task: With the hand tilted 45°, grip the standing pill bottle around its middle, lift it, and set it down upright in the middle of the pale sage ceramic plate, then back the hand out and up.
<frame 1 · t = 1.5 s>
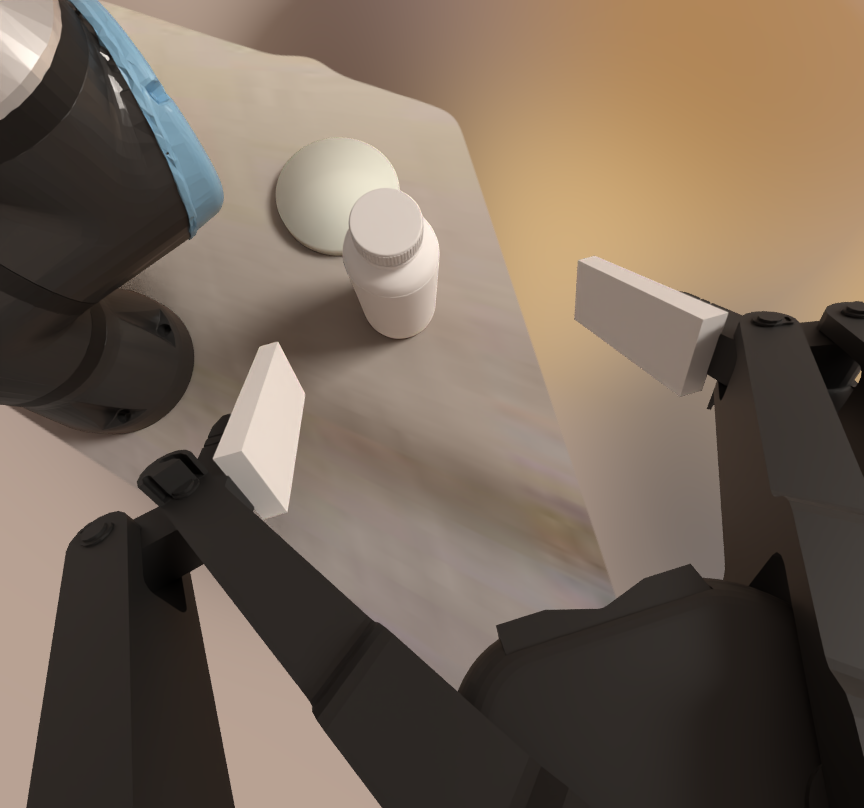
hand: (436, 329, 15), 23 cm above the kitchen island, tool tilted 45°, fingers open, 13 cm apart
pill bottle: (400, 307, 40), on the kitchen island
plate: (340, 199, 41), on the kitchen island
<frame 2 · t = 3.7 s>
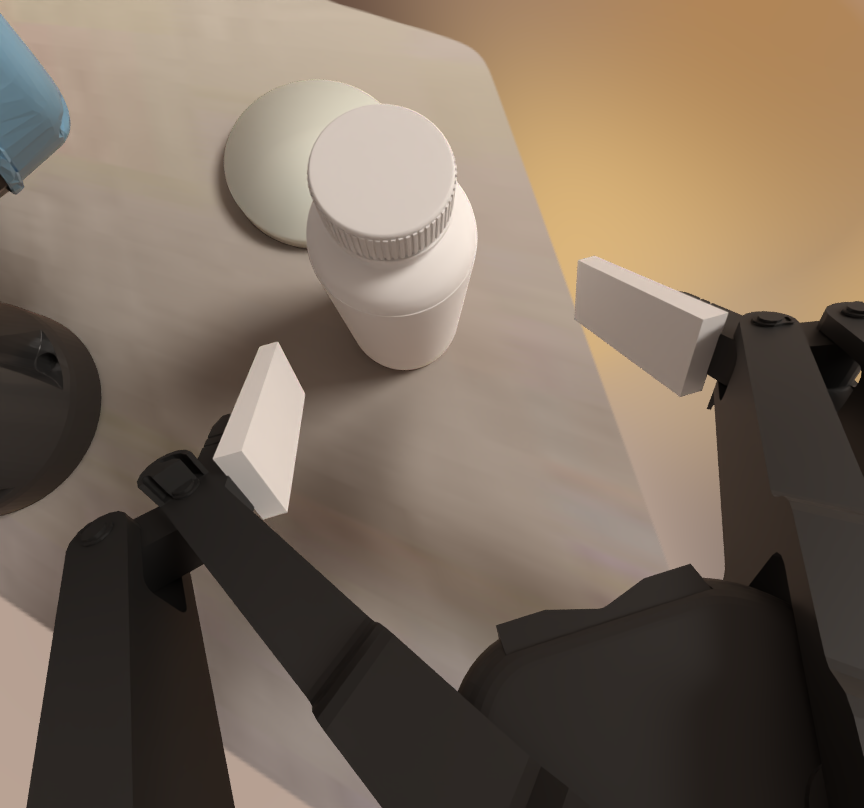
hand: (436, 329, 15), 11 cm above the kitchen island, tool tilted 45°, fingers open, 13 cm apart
pill bottle: (406, 323, 27), on the kitchen island
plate: (318, 168, 29), on the kitchen island
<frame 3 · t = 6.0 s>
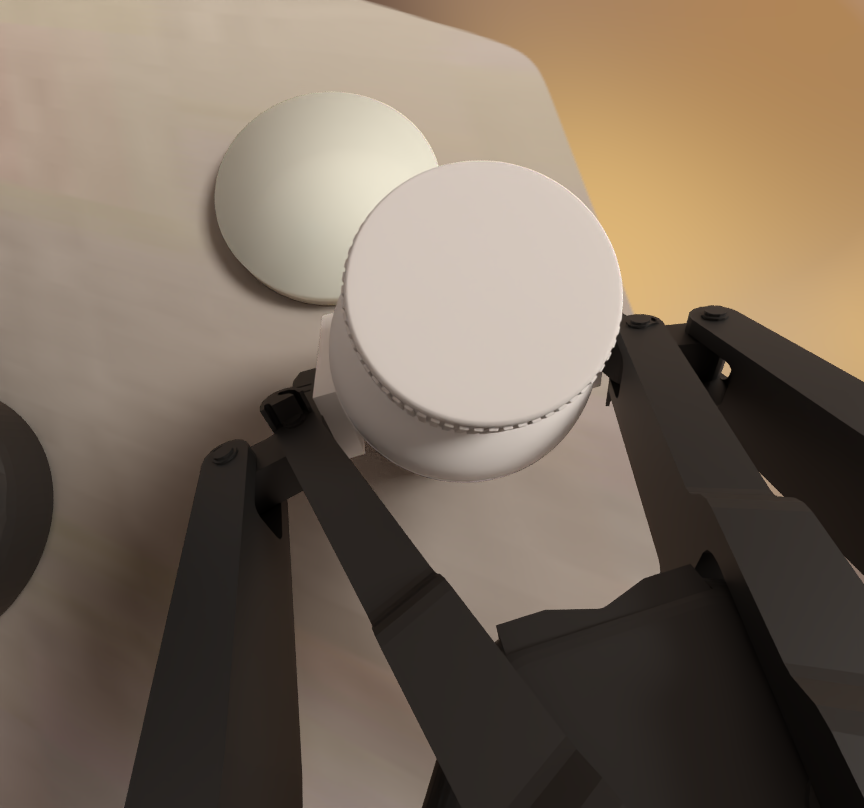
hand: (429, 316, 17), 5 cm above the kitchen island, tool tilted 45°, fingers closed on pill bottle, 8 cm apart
pill bottle: (444, 401, 21), on the kitchen island, touching gripper
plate: (333, 203, 23), on the kitchen island
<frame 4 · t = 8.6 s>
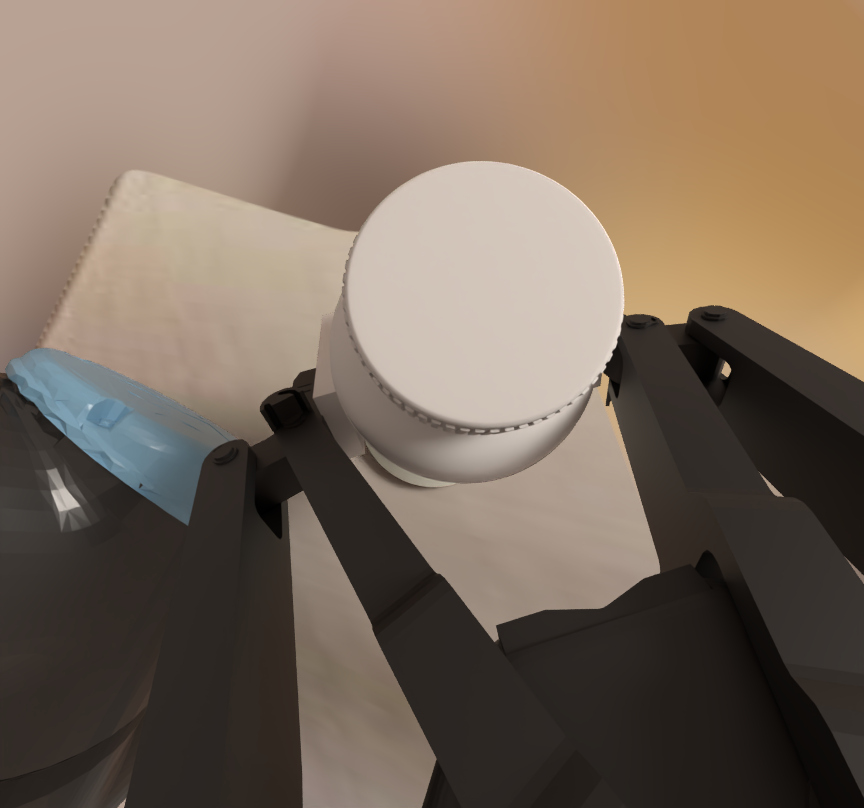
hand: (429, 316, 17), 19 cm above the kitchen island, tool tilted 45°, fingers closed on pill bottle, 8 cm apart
pill bottle: (445, 402, 21), point 13 cm above the kitchen island, touching gripper
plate: (433, 413, 35), on the kitchen island
when the fingers open (8 cm above the kitchen island, at t = 11.2 s): pill bottle drops 1 cm, resting on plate.
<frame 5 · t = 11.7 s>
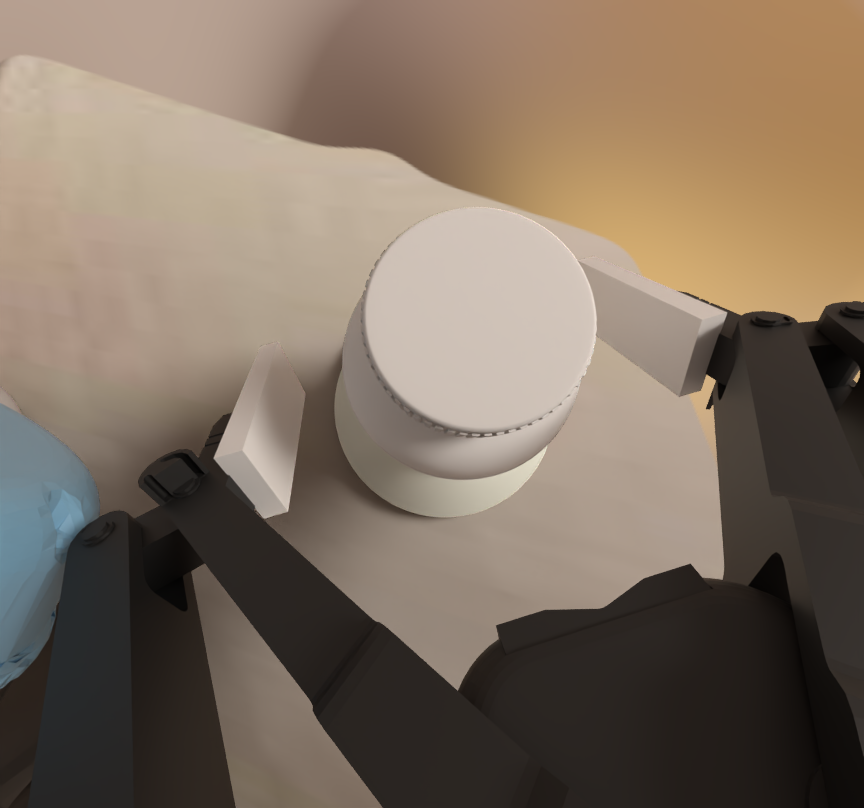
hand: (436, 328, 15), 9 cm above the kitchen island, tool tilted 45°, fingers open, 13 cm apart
pill bottle: (444, 404, 23), point 1 cm above the kitchen island, touching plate
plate: (443, 406, 24), on the kitchen island
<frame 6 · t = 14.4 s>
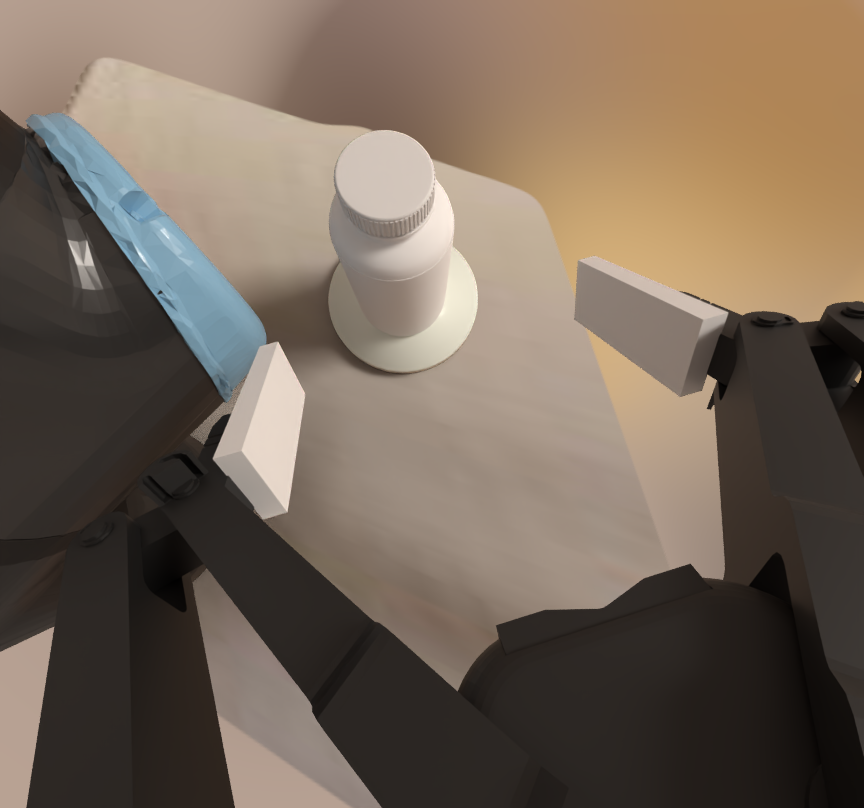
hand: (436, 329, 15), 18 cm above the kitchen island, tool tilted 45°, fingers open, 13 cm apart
pill bottle: (403, 298, 33), point 1 cm above the kitchen island, touching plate
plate: (404, 302, 34), on the kitchen island
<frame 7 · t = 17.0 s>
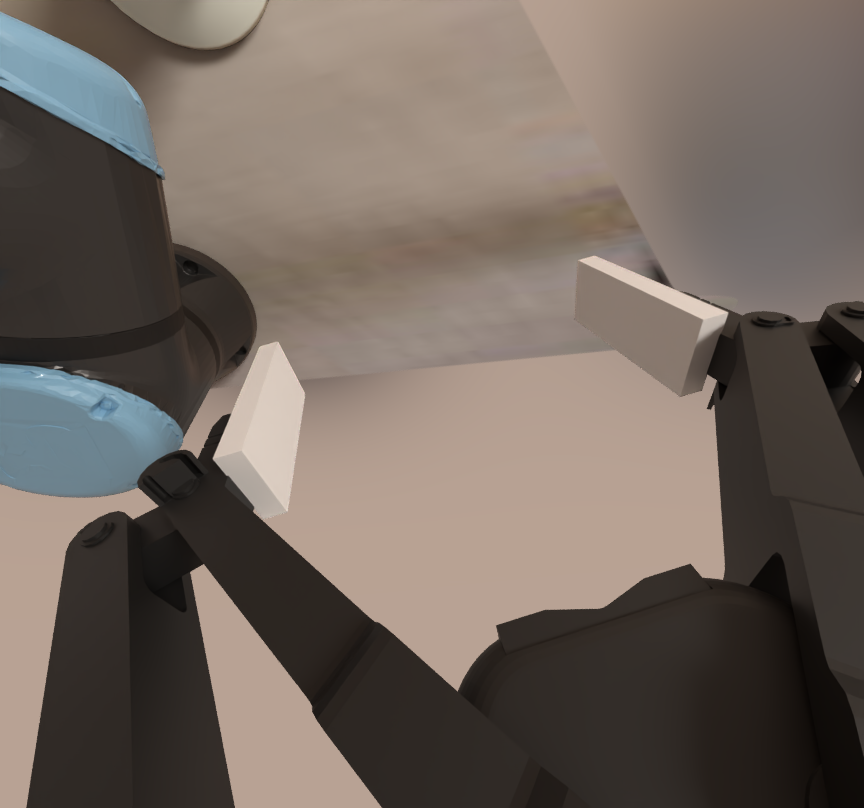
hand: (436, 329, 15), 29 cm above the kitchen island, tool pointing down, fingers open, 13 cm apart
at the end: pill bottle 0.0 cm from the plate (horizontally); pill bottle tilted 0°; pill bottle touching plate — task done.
